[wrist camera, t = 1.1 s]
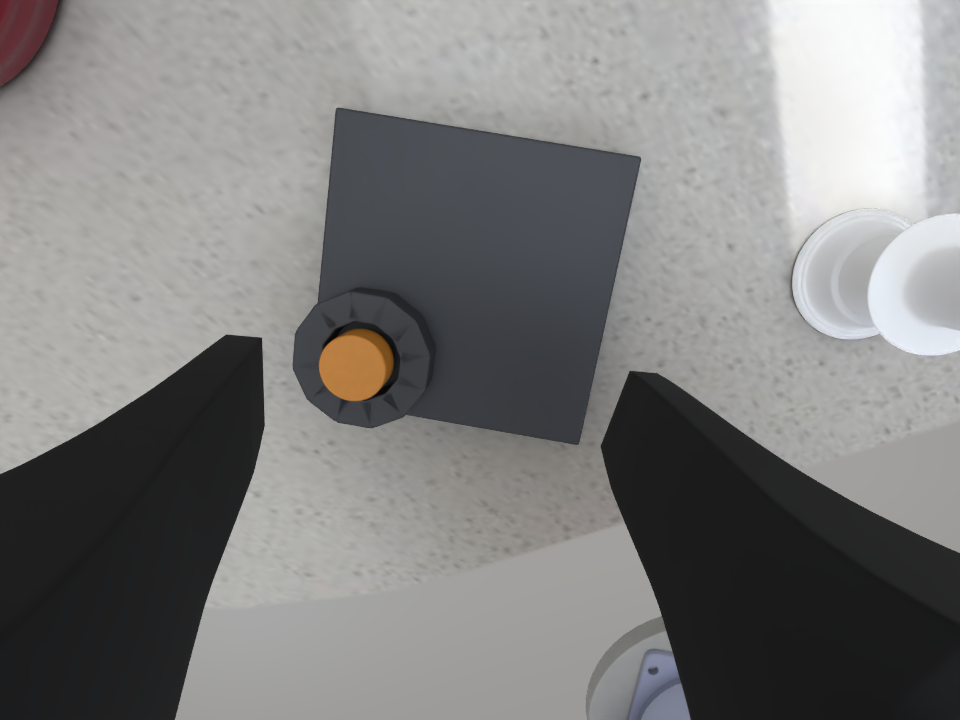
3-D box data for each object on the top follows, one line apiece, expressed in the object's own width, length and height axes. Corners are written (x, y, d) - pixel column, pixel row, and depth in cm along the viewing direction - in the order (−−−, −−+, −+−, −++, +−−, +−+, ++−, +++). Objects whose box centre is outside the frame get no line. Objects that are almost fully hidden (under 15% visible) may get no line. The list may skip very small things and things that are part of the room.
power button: (390, 395, 23) (381, 407, 21) (328, 384, 23) (315, 395, 21) (398, 333, 22) (390, 341, 21) (334, 323, 22) (321, 330, 21)
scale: (574, 439, 26) (581, 466, 23) (313, 393, 26) (287, 414, 23) (634, 161, 23) (652, 151, 20) (340, 113, 23) (314, 96, 20)
